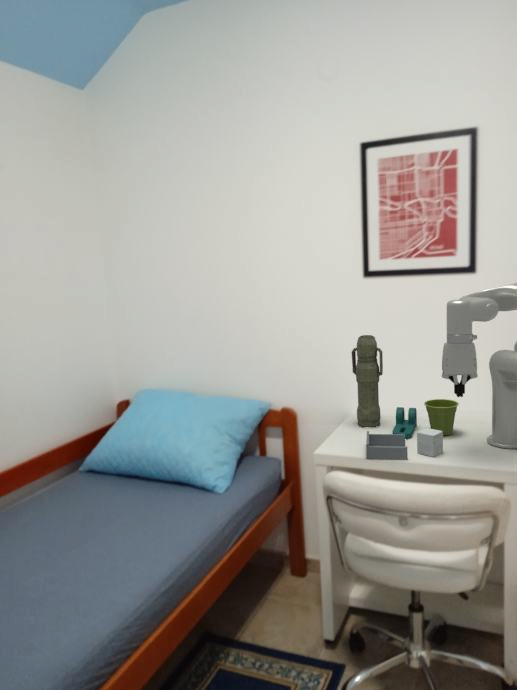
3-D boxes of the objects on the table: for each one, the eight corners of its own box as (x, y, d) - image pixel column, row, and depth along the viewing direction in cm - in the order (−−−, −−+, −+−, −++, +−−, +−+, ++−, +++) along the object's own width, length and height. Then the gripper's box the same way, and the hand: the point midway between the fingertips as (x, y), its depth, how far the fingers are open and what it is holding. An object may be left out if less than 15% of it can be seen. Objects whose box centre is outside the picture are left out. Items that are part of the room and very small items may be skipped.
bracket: (398, 424, 210) (398, 405, 209) (416, 426, 207) (416, 406, 206) (391, 439, 194) (390, 418, 192) (410, 440, 191) (410, 419, 190)
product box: (433, 457, 173) (433, 435, 172) (416, 453, 178) (416, 431, 177) (443, 452, 177) (443, 431, 176) (426, 448, 182) (426, 427, 181)
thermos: (356, 420, 218) (354, 334, 213) (386, 422, 213) (384, 334, 208) (351, 426, 210) (348, 337, 205) (381, 429, 205) (379, 337, 200)
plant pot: (425, 427, 204) (424, 398, 202) (458, 429, 200) (458, 399, 198) (423, 437, 193) (423, 406, 191) (459, 439, 189) (458, 407, 187)
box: (405, 445, 186) (405, 431, 185) (407, 459, 172) (407, 444, 172) (367, 445, 188) (366, 431, 188) (366, 458, 175) (366, 444, 174)
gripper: (482, 336, 172) (482, 393, 175) (433, 338, 175) (433, 393, 178) (487, 340, 165) (486, 398, 168) (435, 341, 168) (436, 399, 171)
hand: (459, 395), depth 173 cm, fingers closed
